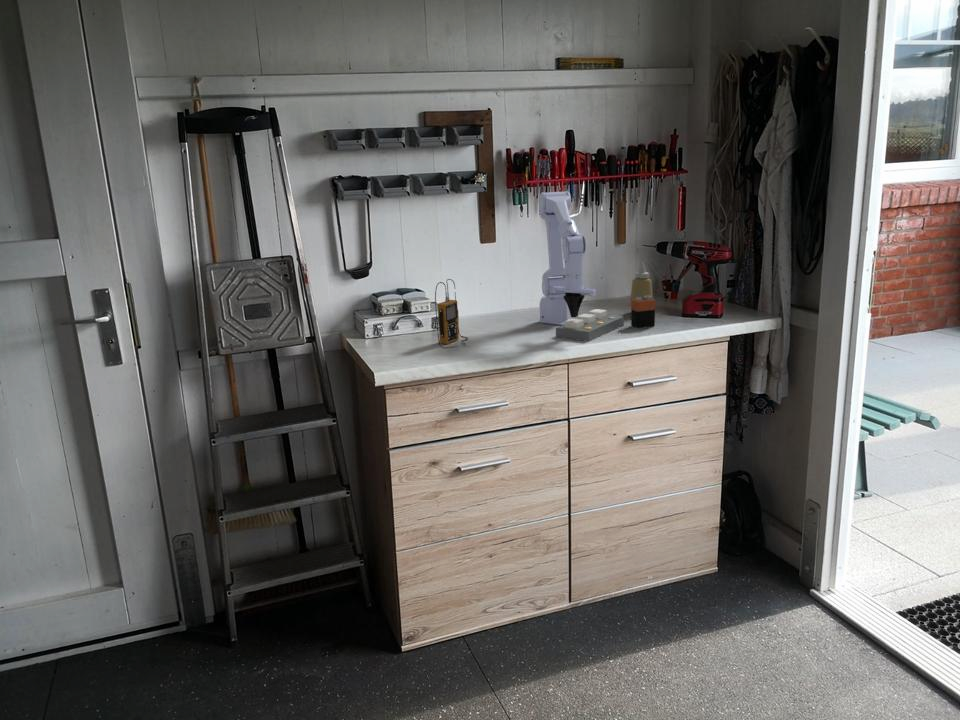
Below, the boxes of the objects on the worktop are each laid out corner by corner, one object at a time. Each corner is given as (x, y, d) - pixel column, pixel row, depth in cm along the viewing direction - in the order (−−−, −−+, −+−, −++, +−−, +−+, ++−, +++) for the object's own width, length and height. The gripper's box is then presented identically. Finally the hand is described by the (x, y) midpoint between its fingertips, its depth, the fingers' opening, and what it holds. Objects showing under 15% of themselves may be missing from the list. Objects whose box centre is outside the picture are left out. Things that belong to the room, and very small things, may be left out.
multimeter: (459, 350, 239) (456, 285, 234) (432, 347, 244) (429, 283, 239) (484, 339, 251) (482, 277, 245) (458, 336, 256) (455, 276, 251)
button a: (564, 330, 250) (564, 321, 249) (571, 327, 253) (571, 318, 252) (576, 331, 247) (576, 322, 246) (583, 329, 251) (583, 319, 250)
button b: (577, 325, 256) (577, 316, 255) (583, 322, 259) (583, 313, 259) (589, 326, 253) (589, 317, 253) (595, 323, 257) (595, 314, 256)
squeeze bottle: (635, 309, 284) (636, 260, 279) (656, 311, 280) (657, 261, 275) (625, 313, 278) (626, 263, 273) (647, 316, 273) (648, 265, 269)
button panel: (555, 336, 250) (555, 327, 249) (591, 321, 269) (591, 312, 268) (588, 341, 243) (588, 331, 243) (623, 325, 262) (623, 315, 261)
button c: (589, 320, 262) (589, 311, 261) (595, 317, 266) (595, 308, 265) (600, 321, 260) (600, 312, 259) (607, 318, 263) (607, 310, 262)
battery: (655, 326, 259) (655, 296, 256) (636, 328, 257) (637, 298, 254) (648, 323, 263) (649, 294, 260) (630, 325, 261) (630, 296, 258)
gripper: (547, 274, 246) (548, 316, 250) (588, 278, 238) (588, 321, 242) (559, 271, 252) (559, 312, 256) (599, 274, 244) (599, 317, 247)
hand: (574, 316), depth 249 cm, fingers closed
